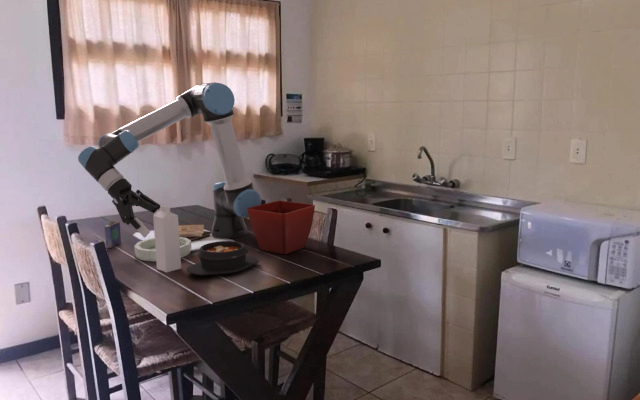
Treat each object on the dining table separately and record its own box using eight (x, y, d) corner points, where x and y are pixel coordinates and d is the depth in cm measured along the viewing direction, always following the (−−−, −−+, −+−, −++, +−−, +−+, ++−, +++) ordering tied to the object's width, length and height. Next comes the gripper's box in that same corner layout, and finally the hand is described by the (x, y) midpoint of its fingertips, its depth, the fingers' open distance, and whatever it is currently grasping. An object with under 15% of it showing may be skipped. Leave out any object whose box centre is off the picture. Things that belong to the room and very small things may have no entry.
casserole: (201, 285, 165) (200, 259, 164) (178, 270, 180) (176, 247, 178) (269, 269, 180) (268, 245, 179) (242, 257, 195) (241, 235, 193)
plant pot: (247, 250, 203) (245, 207, 200) (280, 239, 218) (279, 199, 215) (284, 258, 192) (283, 213, 188) (316, 247, 206) (316, 205, 203)
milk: (166, 272, 178) (161, 209, 173) (156, 269, 182) (151, 206, 177) (181, 268, 182) (177, 206, 178) (172, 264, 186) (167, 203, 182)
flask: (110, 248, 207) (108, 222, 205) (103, 248, 208) (101, 222, 206) (122, 242, 216) (120, 217, 214) (116, 242, 217) (113, 216, 215)
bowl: (194, 245, 210) (194, 235, 210) (185, 260, 191) (185, 249, 190) (143, 247, 209) (143, 237, 208) (129, 262, 189) (128, 251, 189)
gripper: (130, 186, 193) (170, 228, 192) (85, 198, 169) (130, 246, 168) (142, 172, 190) (182, 214, 190) (98, 183, 167) (144, 231, 166)
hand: (158, 229), depth 179 cm, fingers open, 13 cm apart
